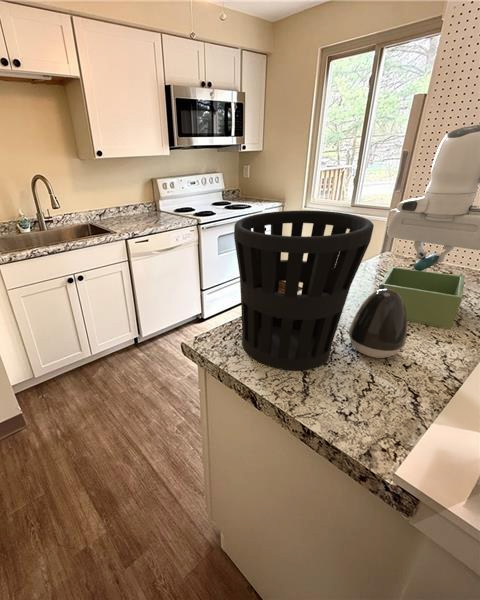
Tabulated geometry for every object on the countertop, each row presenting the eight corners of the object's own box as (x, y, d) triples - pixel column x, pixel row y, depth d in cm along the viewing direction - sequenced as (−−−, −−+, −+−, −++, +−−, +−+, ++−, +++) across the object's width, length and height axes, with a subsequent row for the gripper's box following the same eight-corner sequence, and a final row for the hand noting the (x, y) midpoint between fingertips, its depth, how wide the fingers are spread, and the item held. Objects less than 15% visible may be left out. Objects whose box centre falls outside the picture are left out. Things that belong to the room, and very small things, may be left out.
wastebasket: (363, 345, 72) (396, 215, 60) (308, 397, 59) (335, 246, 47) (267, 311, 91) (276, 207, 78) (209, 345, 78) (209, 227, 65)
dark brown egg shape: (393, 341, 73) (411, 282, 66) (406, 368, 64) (428, 303, 58) (343, 335, 77) (355, 278, 70) (348, 359, 68) (363, 297, 62)
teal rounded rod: (429, 256, 83) (439, 250, 81) (436, 263, 82) (446, 258, 80) (409, 265, 78) (419, 260, 76) (416, 273, 77) (426, 268, 75)
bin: (384, 292, 95) (391, 266, 91) (453, 305, 85) (464, 276, 81) (372, 312, 85) (380, 284, 81) (450, 329, 75) (462, 297, 71)
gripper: (515, 205, 66) (490, 266, 72) (403, 199, 82) (390, 249, 88) (504, 210, 63) (479, 273, 69) (390, 203, 80) (378, 254, 86)
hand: (428, 260), depth 79 cm, fingers closed on teal rounded rod, 2 cm apart
